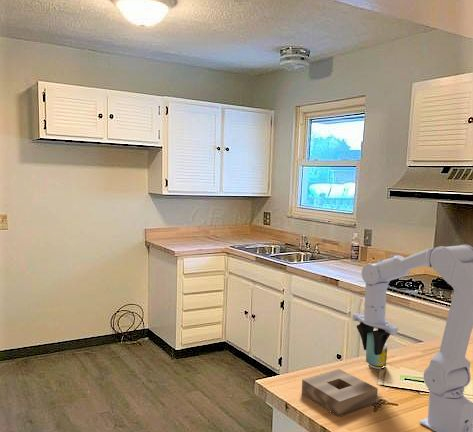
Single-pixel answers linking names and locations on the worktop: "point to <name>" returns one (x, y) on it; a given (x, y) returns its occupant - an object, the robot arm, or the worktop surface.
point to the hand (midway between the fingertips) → (372, 351)
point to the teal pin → (371, 350)
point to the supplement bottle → (381, 359)
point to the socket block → (339, 392)
